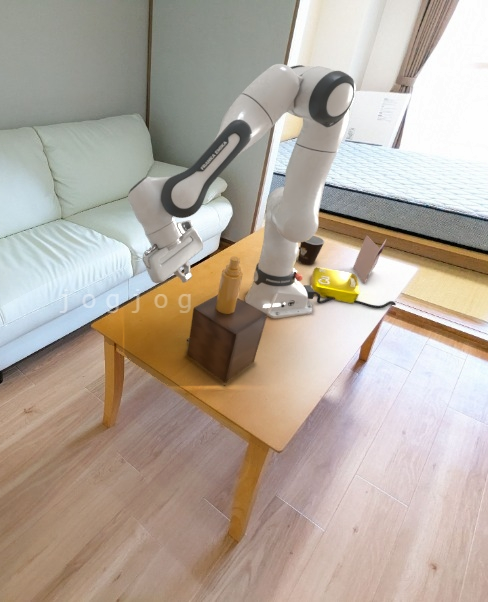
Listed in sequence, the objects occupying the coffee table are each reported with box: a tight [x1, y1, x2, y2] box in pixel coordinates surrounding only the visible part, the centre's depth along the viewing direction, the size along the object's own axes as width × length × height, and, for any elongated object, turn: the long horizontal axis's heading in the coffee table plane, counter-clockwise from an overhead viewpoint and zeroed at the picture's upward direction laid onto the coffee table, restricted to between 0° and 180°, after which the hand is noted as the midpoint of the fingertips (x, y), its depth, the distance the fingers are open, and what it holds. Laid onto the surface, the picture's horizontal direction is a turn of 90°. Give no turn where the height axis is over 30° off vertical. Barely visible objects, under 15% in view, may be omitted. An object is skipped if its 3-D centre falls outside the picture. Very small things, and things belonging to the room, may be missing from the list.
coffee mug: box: [297, 235, 325, 266], centre depth 155 cm, size 12×9×10 cm
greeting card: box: [352, 235, 387, 284], centre depth 143 cm, size 11×7×15 cm, turn 139°
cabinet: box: [186, 294, 268, 387], centre depth 103 cm, size 14×13×18 cm
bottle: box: [216, 256, 244, 314], centre depth 94 cm, size 5×5×15 cm
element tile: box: [310, 266, 360, 304], centre depth 138 cm, size 15×15×5 cm
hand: (187, 279), depth 105 cm, fingers closed
